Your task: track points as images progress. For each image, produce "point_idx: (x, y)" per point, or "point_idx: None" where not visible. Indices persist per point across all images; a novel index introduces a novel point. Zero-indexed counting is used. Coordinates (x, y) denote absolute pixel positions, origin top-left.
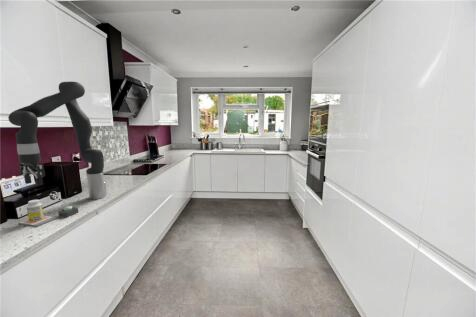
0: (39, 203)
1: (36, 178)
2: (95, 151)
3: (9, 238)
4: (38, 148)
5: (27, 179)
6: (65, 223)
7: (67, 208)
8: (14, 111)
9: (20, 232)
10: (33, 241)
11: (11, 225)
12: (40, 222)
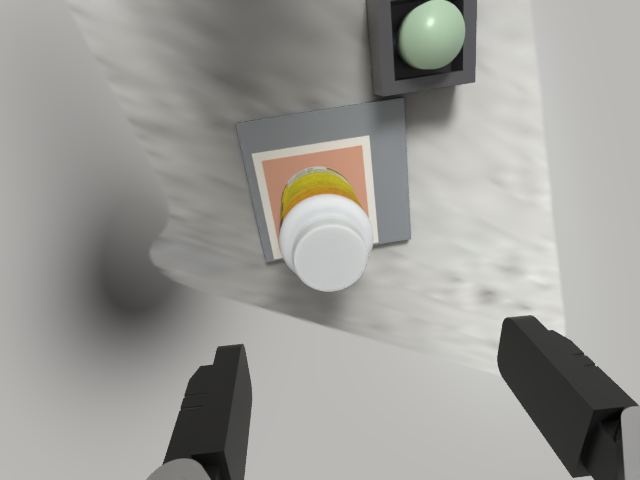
0: (344, 216)
1: (591, 474)
2: None
3: (412, 337)
4: None
5: (243, 436)
6: (526, 147)
7: (455, 55)
8: None
9: (394, 296)
10: (544, 310)
11: (252, 281)
12: (383, 210)
